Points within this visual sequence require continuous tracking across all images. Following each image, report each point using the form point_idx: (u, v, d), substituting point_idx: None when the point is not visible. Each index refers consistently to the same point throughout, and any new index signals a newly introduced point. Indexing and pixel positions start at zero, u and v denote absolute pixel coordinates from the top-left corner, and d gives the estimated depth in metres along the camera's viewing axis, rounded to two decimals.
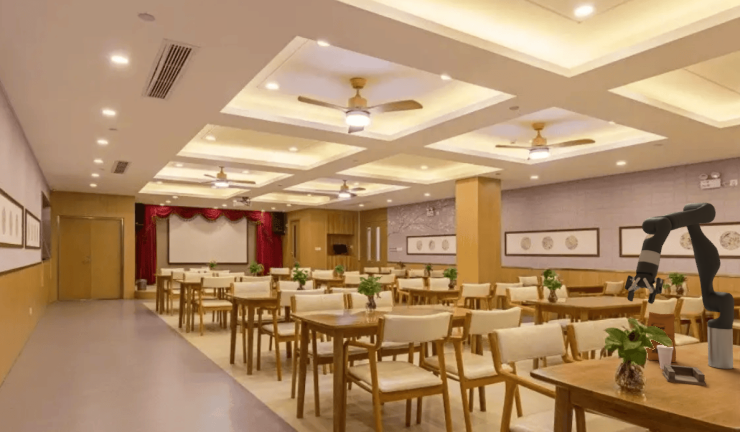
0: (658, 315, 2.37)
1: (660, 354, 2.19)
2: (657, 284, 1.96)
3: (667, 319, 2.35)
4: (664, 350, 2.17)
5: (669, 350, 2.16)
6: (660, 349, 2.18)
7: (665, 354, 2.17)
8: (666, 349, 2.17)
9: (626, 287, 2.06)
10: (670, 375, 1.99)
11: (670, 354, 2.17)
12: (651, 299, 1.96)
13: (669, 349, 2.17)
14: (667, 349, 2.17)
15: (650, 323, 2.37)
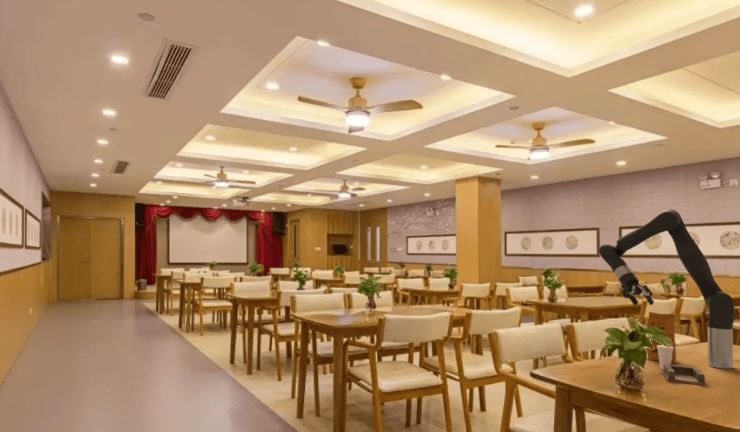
0: (658, 315, 2.37)
1: (660, 354, 2.19)
2: None
3: (667, 319, 2.35)
4: (664, 350, 2.17)
5: (669, 350, 2.17)
6: (660, 349, 2.18)
7: (665, 354, 2.17)
8: (666, 349, 2.17)
9: None
10: (670, 375, 1.99)
11: (670, 354, 2.17)
12: None
13: (669, 349, 2.17)
14: (667, 349, 2.17)
15: (650, 323, 2.37)
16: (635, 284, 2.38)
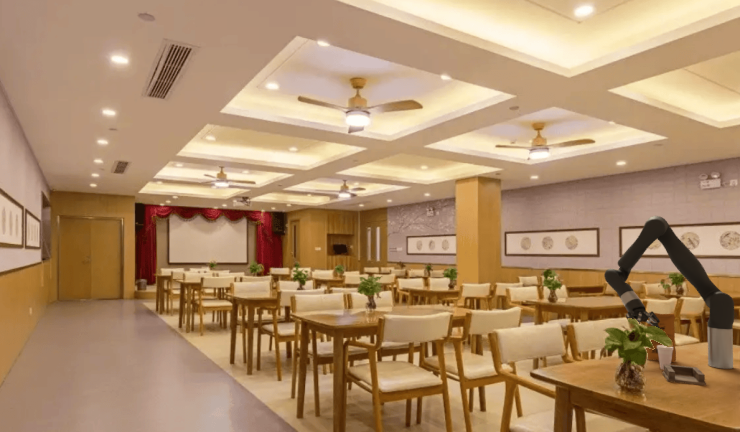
0: (658, 315, 2.37)
1: (660, 354, 2.19)
2: None
3: (667, 319, 2.35)
4: (664, 350, 2.17)
5: (669, 350, 2.17)
6: (660, 349, 2.18)
7: (665, 354, 2.17)
8: (666, 349, 2.17)
9: None
10: (670, 375, 1.99)
11: (670, 354, 2.17)
12: None
13: (669, 349, 2.17)
14: (667, 349, 2.17)
15: None
16: (642, 311, 2.34)
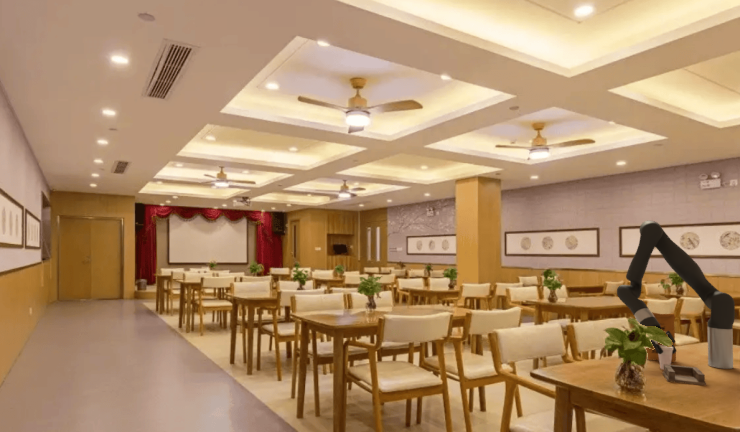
0: (658, 315, 2.37)
1: (660, 354, 2.19)
2: None
3: (667, 319, 2.35)
4: (664, 350, 2.17)
5: (669, 350, 2.16)
6: None
7: (665, 354, 2.17)
8: (666, 349, 2.17)
9: None
10: (670, 375, 1.99)
11: (670, 354, 2.17)
12: None
13: (669, 349, 2.17)
14: (667, 349, 2.17)
15: None
16: None
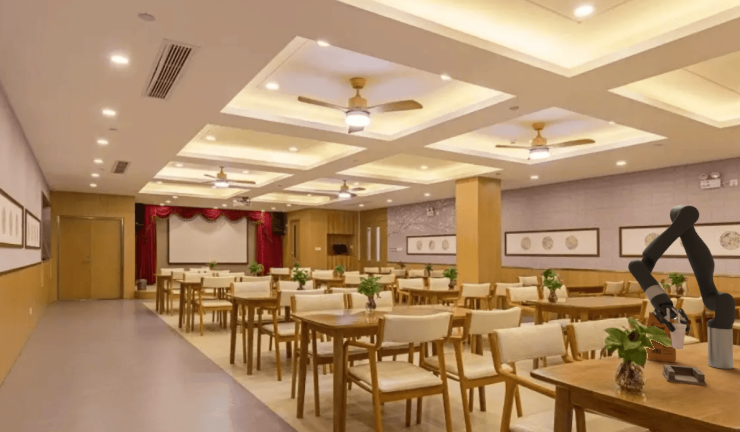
0: None
1: (672, 332, 2.06)
2: None
3: None
4: (676, 328, 2.05)
5: (682, 327, 2.04)
6: None
7: (677, 332, 2.05)
8: (679, 327, 2.04)
9: None
10: (670, 375, 1.99)
11: (683, 332, 2.05)
12: None
13: (682, 327, 2.04)
14: (680, 327, 2.04)
15: (650, 323, 2.37)
16: (669, 306, 2.13)
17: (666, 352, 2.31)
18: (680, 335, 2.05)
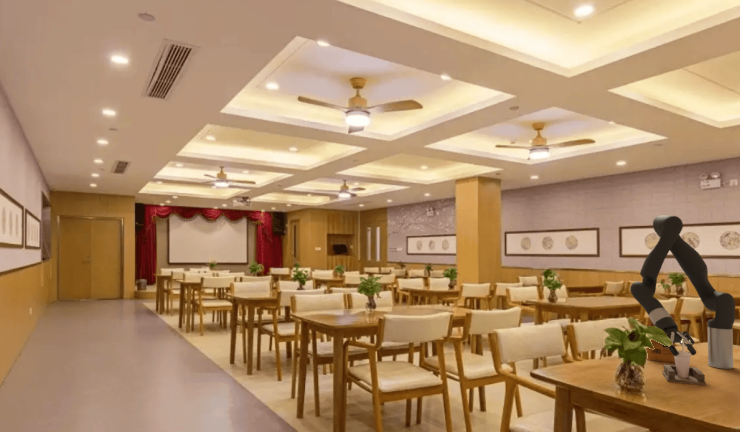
0: None
1: (677, 360, 2.03)
2: None
3: None
4: (681, 356, 2.01)
5: (687, 356, 2.01)
6: (677, 355, 2.02)
7: (682, 360, 2.01)
8: (683, 355, 2.01)
9: None
10: (670, 375, 1.99)
11: (688, 360, 2.01)
12: None
13: (687, 355, 2.01)
14: (684, 355, 2.01)
15: (650, 323, 2.37)
16: (674, 330, 2.09)
17: (666, 352, 2.31)
18: (685, 363, 2.01)
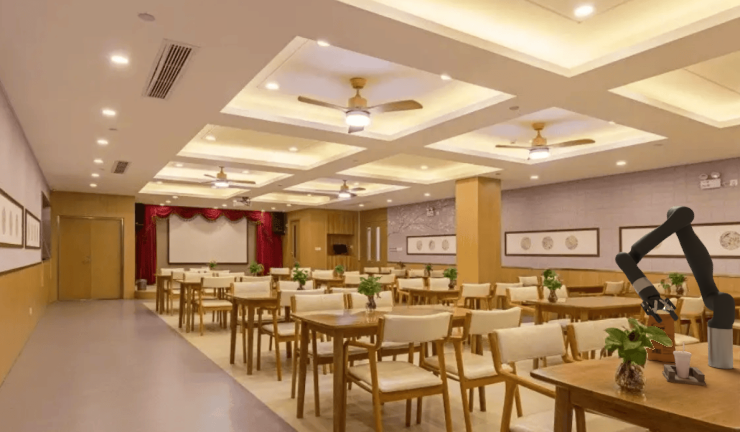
0: None
1: (677, 361, 2.03)
2: None
3: (667, 319, 2.35)
4: (682, 356, 2.01)
5: (687, 356, 2.00)
6: (677, 355, 2.02)
7: (683, 361, 2.01)
8: (684, 355, 2.01)
9: None
10: (670, 375, 1.99)
11: (688, 361, 2.01)
12: None
13: (687, 356, 2.01)
14: (685, 355, 2.01)
15: (650, 323, 2.37)
16: (657, 298, 2.20)
17: (666, 352, 2.31)
18: (685, 364, 2.01)
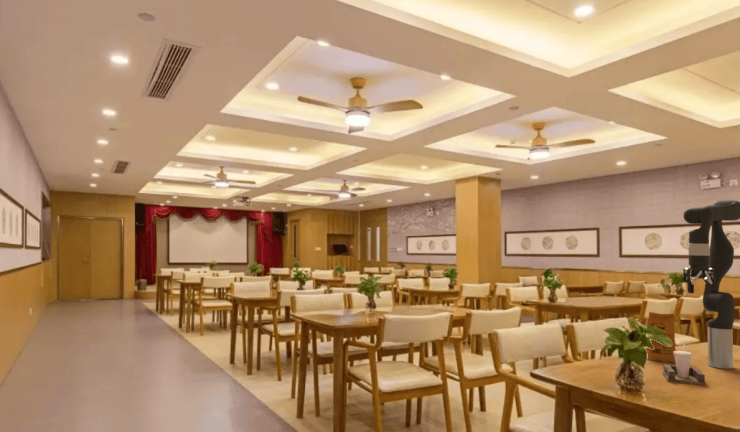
0: (658, 315, 2.37)
1: (677, 361, 2.03)
2: None
3: (667, 319, 2.35)
4: (682, 356, 2.01)
5: (688, 356, 2.00)
6: (677, 355, 2.02)
7: (683, 361, 2.01)
8: (684, 355, 2.01)
9: None
10: (670, 375, 1.99)
11: (688, 361, 2.01)
12: None
13: (687, 356, 2.01)
14: (685, 355, 2.00)
15: (650, 323, 2.37)
16: (703, 267, 2.10)
17: (666, 352, 2.31)
18: (685, 364, 2.01)
